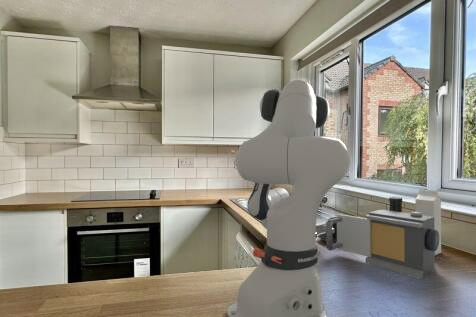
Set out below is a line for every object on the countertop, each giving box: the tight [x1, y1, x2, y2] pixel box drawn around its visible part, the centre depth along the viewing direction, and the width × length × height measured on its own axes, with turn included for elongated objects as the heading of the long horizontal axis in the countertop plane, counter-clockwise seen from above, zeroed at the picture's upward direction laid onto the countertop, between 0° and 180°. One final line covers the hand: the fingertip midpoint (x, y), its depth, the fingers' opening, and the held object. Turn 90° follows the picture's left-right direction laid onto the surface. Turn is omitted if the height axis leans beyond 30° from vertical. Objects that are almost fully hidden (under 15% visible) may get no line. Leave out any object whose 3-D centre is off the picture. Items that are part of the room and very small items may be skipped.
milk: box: [414, 189, 442, 256], centre depth 105 cm, size 6×6×22 cm
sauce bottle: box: [388, 196, 403, 212], centre depth 104 cm, size 6×6×20 cm
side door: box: [325, 213, 371, 257], centre depth 98 cm, size 8×12×12 cm
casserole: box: [317, 216, 337, 244], centre depth 121 cm, size 25×19×8 cm
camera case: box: [364, 209, 439, 280], centre depth 91 cm, size 10×18×17 cm, turn 37°
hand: (324, 233), depth 101 cm, fingers open, 8 cm apart
